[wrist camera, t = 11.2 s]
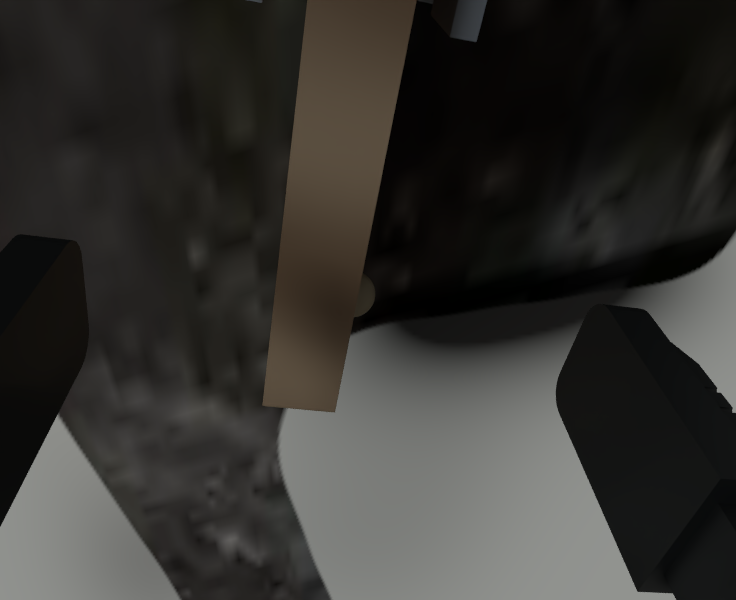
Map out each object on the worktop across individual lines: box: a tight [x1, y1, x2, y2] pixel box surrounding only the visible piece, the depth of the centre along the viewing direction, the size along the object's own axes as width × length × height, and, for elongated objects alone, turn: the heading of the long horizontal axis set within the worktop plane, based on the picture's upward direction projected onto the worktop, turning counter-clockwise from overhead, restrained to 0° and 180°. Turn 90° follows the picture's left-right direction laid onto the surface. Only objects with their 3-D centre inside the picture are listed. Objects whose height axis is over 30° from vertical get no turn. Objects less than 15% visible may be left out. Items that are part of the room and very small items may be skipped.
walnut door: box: [263, 0, 417, 412], centre depth 18 cm, size 12×3×11 cm, turn 170°
